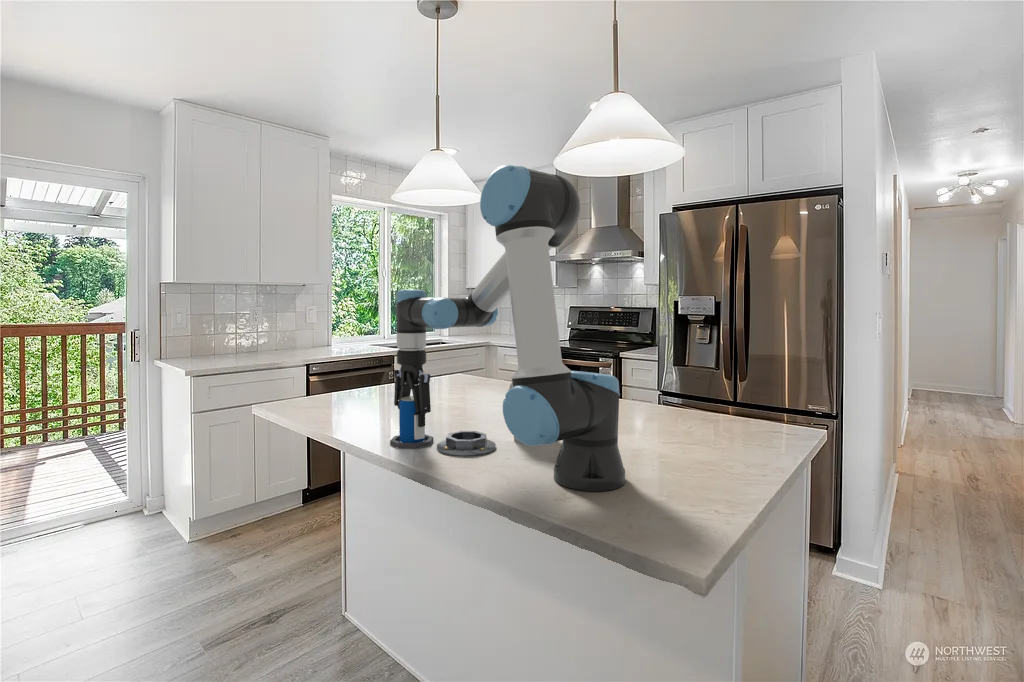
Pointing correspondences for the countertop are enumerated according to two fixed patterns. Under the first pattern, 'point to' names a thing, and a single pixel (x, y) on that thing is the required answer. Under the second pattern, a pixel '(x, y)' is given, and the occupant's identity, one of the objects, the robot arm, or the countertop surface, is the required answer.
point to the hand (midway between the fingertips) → (412, 435)
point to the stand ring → (400, 445)
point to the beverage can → (407, 420)
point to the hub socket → (466, 444)
